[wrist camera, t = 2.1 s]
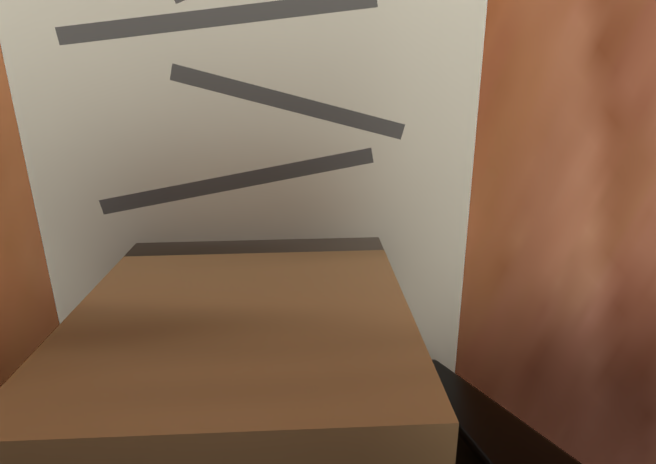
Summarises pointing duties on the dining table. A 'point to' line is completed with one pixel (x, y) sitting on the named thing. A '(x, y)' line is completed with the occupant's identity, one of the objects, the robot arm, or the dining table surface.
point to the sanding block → (234, 363)
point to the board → (251, 131)
